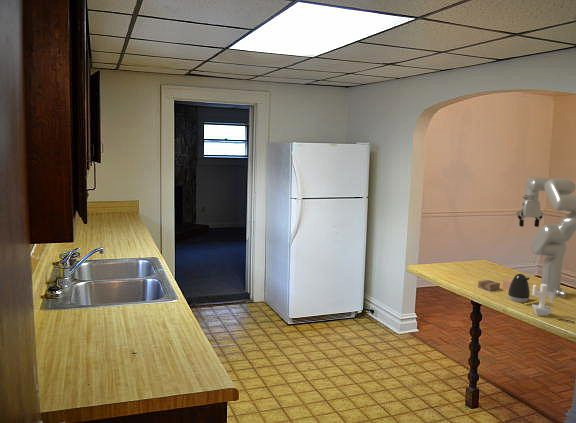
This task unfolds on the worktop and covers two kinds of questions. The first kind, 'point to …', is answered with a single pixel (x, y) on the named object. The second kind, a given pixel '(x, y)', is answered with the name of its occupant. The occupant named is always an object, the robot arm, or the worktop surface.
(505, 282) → the top cube
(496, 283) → the base block
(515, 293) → the black penguin toy
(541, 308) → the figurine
